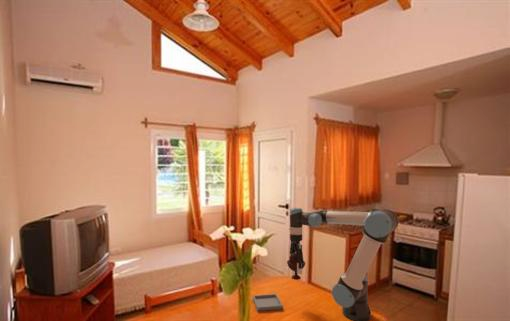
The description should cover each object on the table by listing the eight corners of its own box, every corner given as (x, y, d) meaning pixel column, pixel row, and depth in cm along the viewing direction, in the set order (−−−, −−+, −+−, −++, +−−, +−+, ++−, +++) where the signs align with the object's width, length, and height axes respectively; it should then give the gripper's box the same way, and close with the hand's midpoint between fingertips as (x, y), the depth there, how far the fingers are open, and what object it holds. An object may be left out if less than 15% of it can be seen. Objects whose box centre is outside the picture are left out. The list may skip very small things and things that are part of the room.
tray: (282, 309, 157) (282, 305, 157) (257, 312, 154) (257, 307, 154) (276, 297, 172) (276, 293, 172) (252, 299, 169) (252, 295, 169)
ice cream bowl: (305, 282, 158) (305, 255, 159) (286, 280, 161) (286, 254, 161) (305, 275, 169) (305, 250, 169) (287, 274, 171) (287, 249, 172)
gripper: (284, 229, 177) (284, 264, 176) (296, 238, 154) (296, 278, 153) (295, 229, 178) (295, 263, 177) (309, 237, 155) (309, 277, 154)
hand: (296, 270), depth 165 cm, fingers closed on ice cream bowl, 11 cm apart
